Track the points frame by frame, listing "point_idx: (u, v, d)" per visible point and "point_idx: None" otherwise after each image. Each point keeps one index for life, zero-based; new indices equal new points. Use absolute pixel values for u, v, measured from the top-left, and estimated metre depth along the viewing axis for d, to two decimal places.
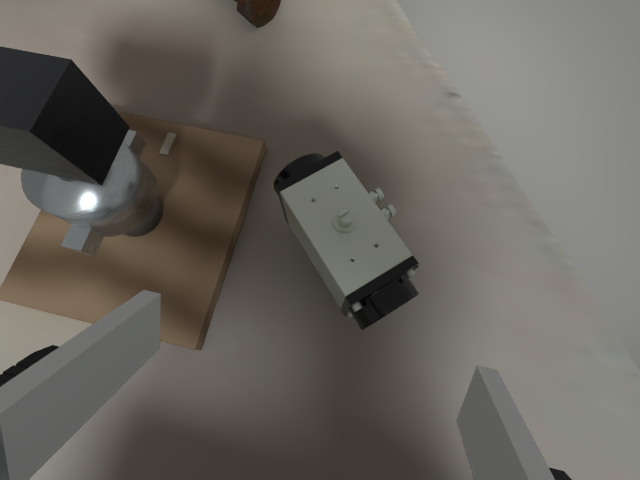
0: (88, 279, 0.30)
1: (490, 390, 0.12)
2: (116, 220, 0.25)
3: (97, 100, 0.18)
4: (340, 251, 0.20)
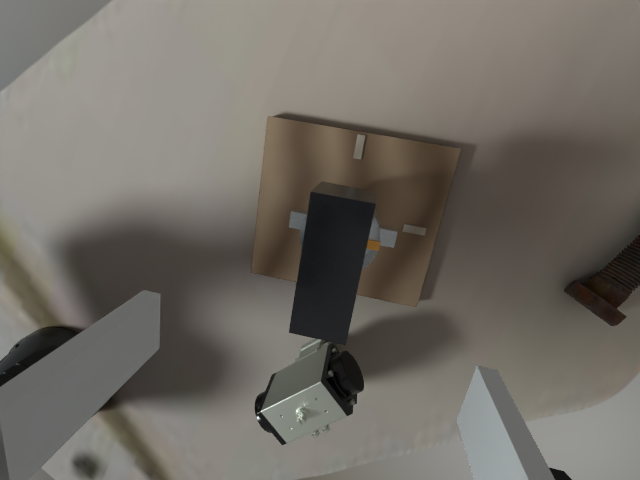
0: (289, 188, 0.38)
1: (490, 390, 0.12)
2: None
3: None
4: (285, 410, 0.35)
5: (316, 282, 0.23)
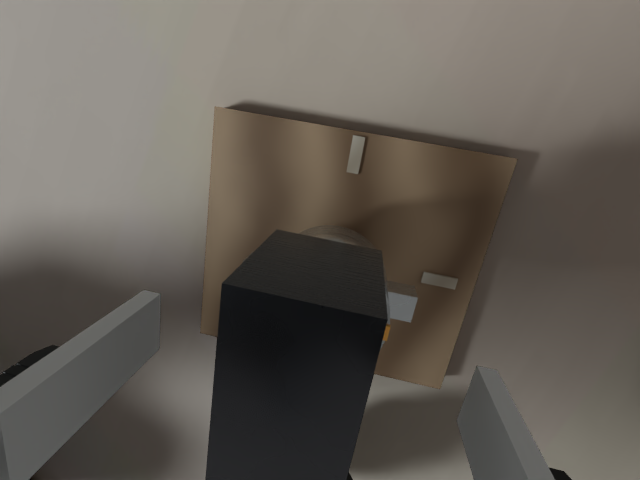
0: (251, 216, 0.25)
1: (490, 390, 0.12)
2: None
3: None
4: None
5: (250, 474, 0.10)
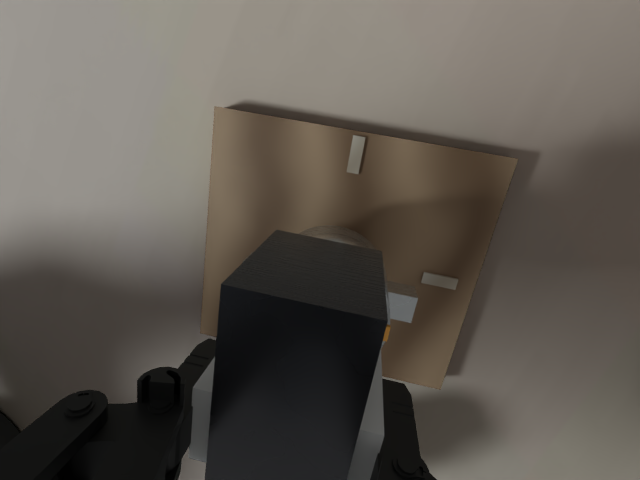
0: (251, 216, 0.25)
1: None
2: None
3: None
4: None
5: (249, 475, 0.10)
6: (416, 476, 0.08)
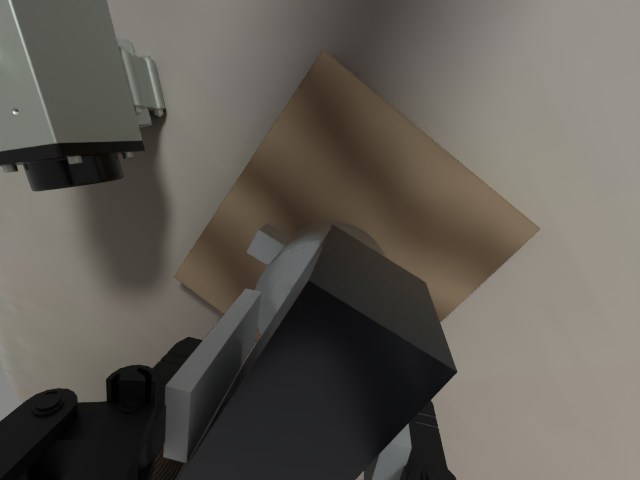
0: (421, 200, 0.23)
1: None
2: None
3: None
4: None
5: (244, 461, 0.10)
6: None
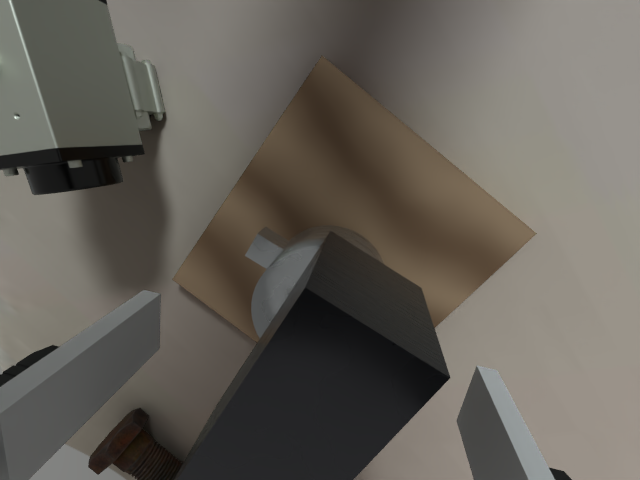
0: (418, 205, 0.23)
1: (490, 390, 0.12)
2: None
3: None
4: None
5: (241, 465, 0.10)
6: None
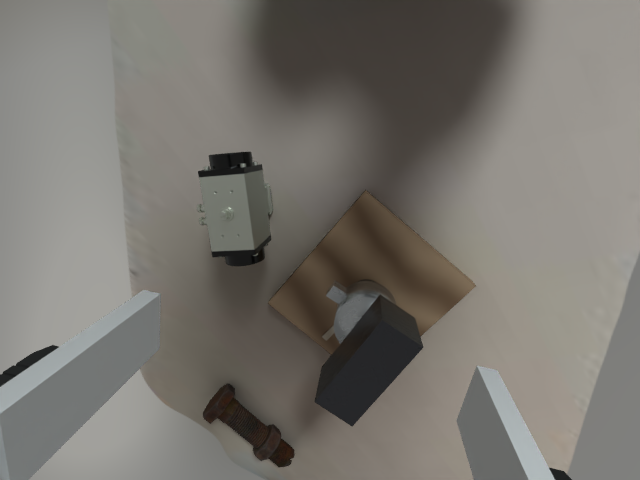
0: (413, 268, 0.43)
1: (490, 390, 0.12)
2: None
3: None
4: (236, 199, 0.34)
5: (353, 378, 0.29)
6: None
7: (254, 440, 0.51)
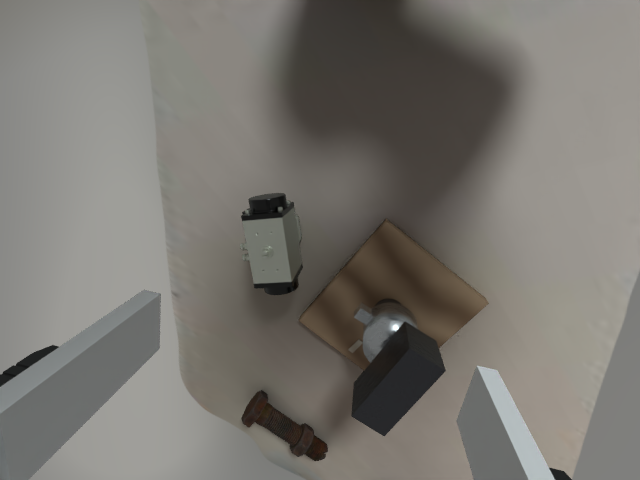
0: (431, 288, 0.47)
1: (490, 390, 0.12)
2: None
3: None
4: (275, 239, 0.39)
5: (385, 396, 0.34)
6: None
7: (290, 439, 0.56)
